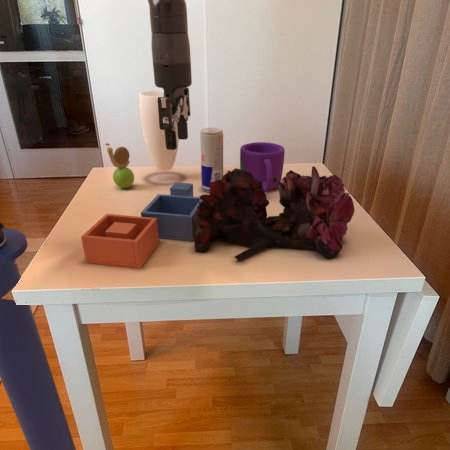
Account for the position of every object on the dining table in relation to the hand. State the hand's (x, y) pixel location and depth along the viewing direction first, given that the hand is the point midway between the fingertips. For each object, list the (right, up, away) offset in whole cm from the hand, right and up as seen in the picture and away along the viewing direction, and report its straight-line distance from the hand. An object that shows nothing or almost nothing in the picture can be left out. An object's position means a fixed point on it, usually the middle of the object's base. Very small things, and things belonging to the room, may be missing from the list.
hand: (177, 144), depth 92 cm
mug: (+20, -6, +18) cm, 28 cm away
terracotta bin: (-9, -25, -11) cm, 29 cm away
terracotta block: (-9, -25, -12) cm, 29 cm away
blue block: (0, -11, +10) cm, 14 cm away
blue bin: (0, -19, -2) cm, 19 cm away
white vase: (-6, -1, +25) cm, 26 cm away
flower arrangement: (+20, -22, -6) cm, 30 cm away
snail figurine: (-16, -5, +18) cm, 25 cm away
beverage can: (+7, -6, +18) cm, 20 cm away
